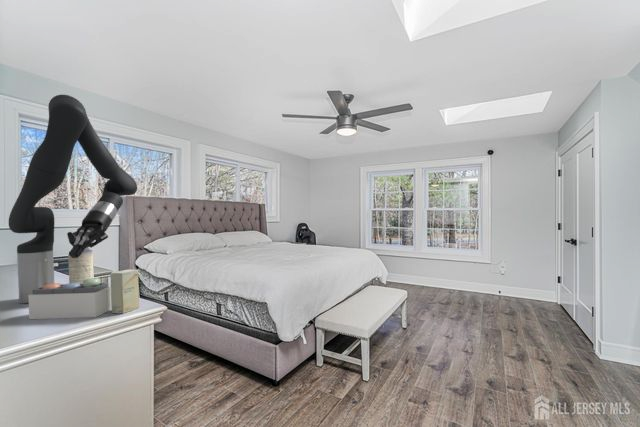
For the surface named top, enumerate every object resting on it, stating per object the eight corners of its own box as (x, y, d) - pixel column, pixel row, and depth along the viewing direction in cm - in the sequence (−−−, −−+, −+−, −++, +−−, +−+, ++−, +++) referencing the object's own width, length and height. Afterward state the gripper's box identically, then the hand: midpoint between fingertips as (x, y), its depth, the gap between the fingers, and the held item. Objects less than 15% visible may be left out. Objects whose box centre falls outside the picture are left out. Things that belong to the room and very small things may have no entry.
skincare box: (123, 314, 86) (121, 273, 86) (110, 313, 87) (109, 273, 87) (140, 307, 93) (138, 269, 92) (128, 306, 93) (127, 268, 93)
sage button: (79, 288, 86) (79, 281, 86) (90, 284, 90) (89, 278, 90) (93, 287, 86) (93, 281, 86) (103, 284, 90) (102, 277, 90)
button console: (29, 319, 84) (28, 290, 84) (51, 310, 91) (50, 284, 91) (95, 317, 84) (94, 288, 84) (112, 308, 91) (111, 282, 91)
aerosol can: (98, 294, 108) (97, 241, 108) (85, 300, 102) (83, 243, 101) (79, 295, 108) (77, 241, 108) (64, 301, 101) (62, 244, 101)
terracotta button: (38, 293, 86) (38, 286, 86) (51, 289, 90) (50, 283, 90) (52, 293, 86) (52, 286, 86) (64, 289, 90) (63, 282, 90)
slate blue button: (59, 292, 86) (58, 286, 86) (70, 289, 90) (70, 282, 90) (72, 292, 86) (72, 285, 86) (83, 288, 90) (83, 282, 90)
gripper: (75, 209, 102) (43, 249, 90) (113, 209, 102) (87, 249, 90) (88, 224, 107) (59, 263, 95) (124, 223, 107) (100, 262, 95)
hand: (73, 256), depth 92 cm, fingers closed
